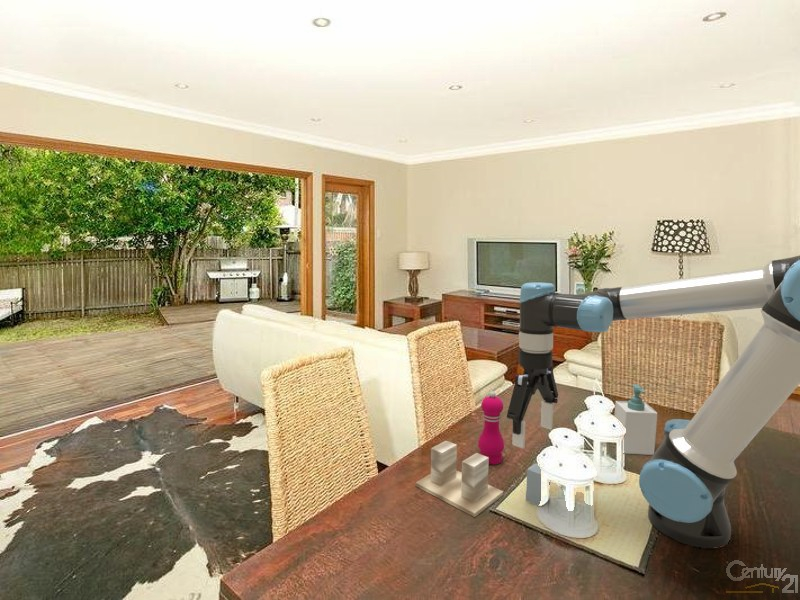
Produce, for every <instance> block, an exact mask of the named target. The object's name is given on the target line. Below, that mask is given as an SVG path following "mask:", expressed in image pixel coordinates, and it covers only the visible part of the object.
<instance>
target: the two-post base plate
mask: <svg viewBox="0 0 800 600" xmlns="http://www.w3.org/2000/svg"><path fill="white" fill-rule="evenodd" d="M457 459H458V444H456V443H453V442H452V441H448V440H444V441H442V442H440V443H439V444H437V445H434V446H433V447H431V448H430V474H428V475H426V476H424V477H423V478H421V479H419V480H418V481H416V482H415V487H416V488H417V489H421V490H422V491H424V492H426V493H427V494H430V495H432V496H434V497H435V498H437V499H439V500H441V501H443V502H445V503H446V504H448V505H451V506H452V507H454V508H457V509H458V510H460V511H462V512H464V513H466V515H469V516H472V517H473V518H475V517H477V516H478V515H479V514H481V513H482V512H484V511H485V510H486V509H488V508H489V507H490V506H491V505H492V504H494V503H496V501H497V500H499V499H501V498H502V497H503V496H504V490H501V489H498V488H497V487H494V486H492V485H491V484H489V465H490V464H489V458H488V457H486V456H483V455H481V454H480V453H478V452H476V453H474V454H472V455H470V456H469V457H467V458H465V459H464V460H462V461H461V471H459V470H457V467H458V466H457V462H458V460H457Z"/></svg>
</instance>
